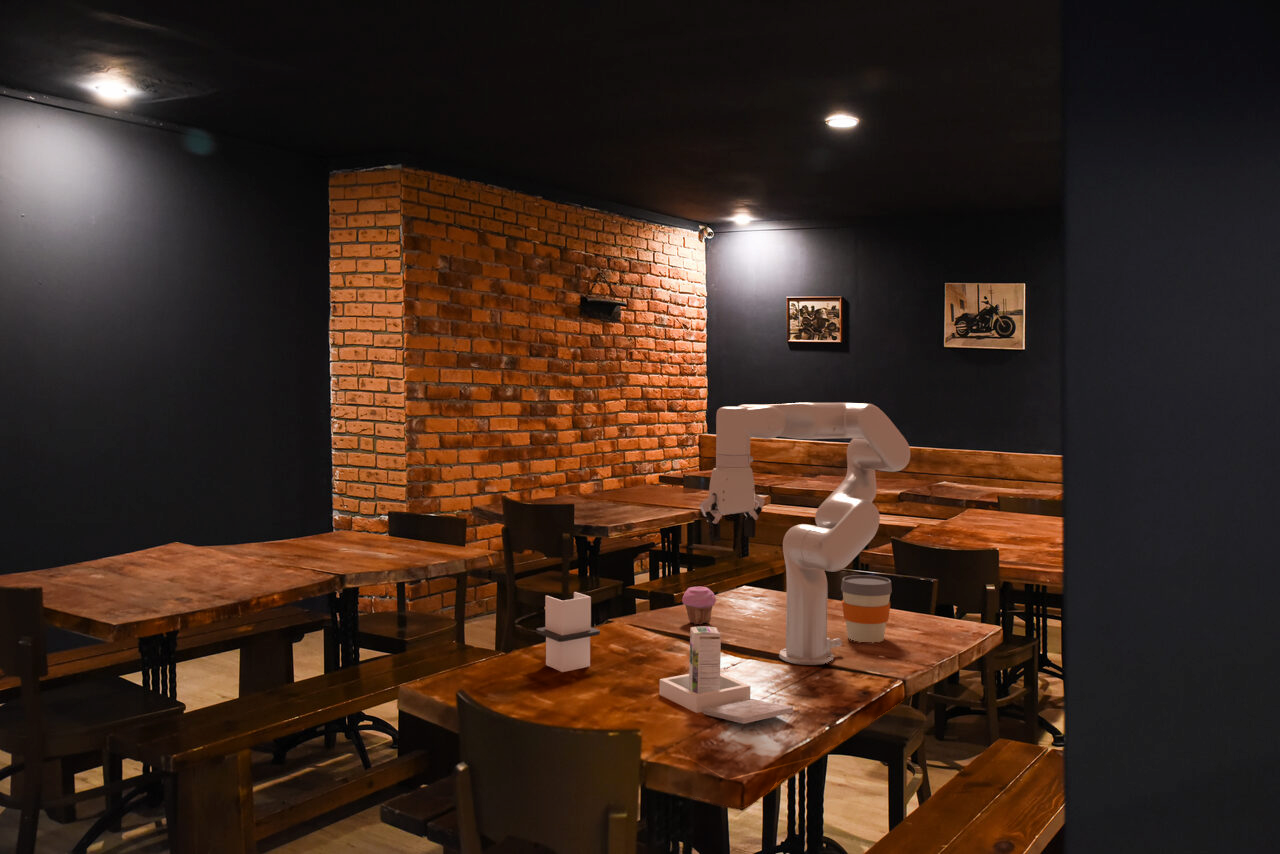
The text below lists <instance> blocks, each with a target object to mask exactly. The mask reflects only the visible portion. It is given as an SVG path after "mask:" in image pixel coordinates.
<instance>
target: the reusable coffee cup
mask: <svg viewBox="0 0 1280 854" xmlns="http://www.w3.org/2000/svg"><path fill="white" fill-rule="evenodd" d="M840 591H841V592H842V597H843V598H842V600H841V603H842V613H843V619H844V620H845V625H846V627H845V628H846V633H847V634H846V635H847V639H848V638H849V639H848V640H850V639H851V640H850V641H852V640H854V641H853V642H855V641H859V642H858V643H861V642H872V643H871V644H875V643H874V642H878V643H881V641H882V642H883V641H884V639H885V633H886V632H885V631H886V625H887V622H889V615H890V610H891V601H890V597H891V594H892V593H893V590H892V581H891V579H890V578H888V577H883V576H879V575H869V574H868V575H866V574H863V575H862V574H858V575H857V574H856V575H848V576H844V577H842V579H841V587H840Z"/></svg>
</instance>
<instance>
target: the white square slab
mask: <svg viewBox="0 0 1280 854" xmlns="http://www.w3.org/2000/svg"><path fill="white" fill-rule="evenodd" d="M702 713H703V715H707V716H709V717H715V718H719V719H723V720H725V721H731V722H735V723H739V724H743V725H744V724H749V723H754V722H756V721H762V720H765V719H766V720H767V719H770V718H774V717H780V716H784V715H788V714H791V713H794V707H793V706H790V705H783V704H779V703H773V702H769V701H764V700H760V699H755V698H750V699H747V700H742V701H738V702H733V703H728V704H723V705H719V706H714V707H709V708H704V709H703V712H702Z"/></svg>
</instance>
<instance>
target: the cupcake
mask: <svg viewBox="0 0 1280 854" xmlns="http://www.w3.org/2000/svg"><path fill="white" fill-rule="evenodd" d="M681 600H682V604H683V605H684V606H685V609H686V612H687V617H688V620H689V622H690V623H691V622H692V623H691V624H693V623H694V624H693V625H696V624H699V625H702V624H701V623H707V624H710V622H711V619H712V610H713V607H714V606H715V605H716V603H717V599H716V595H715V593H714V592H713V591H712V590H711V589H710V588H709V587H706V586H690V587H688V588H687V589H686V591H685V592H684V593H683V596H682V599H681Z"/></svg>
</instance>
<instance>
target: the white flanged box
mask: <svg viewBox="0 0 1280 854" xmlns="http://www.w3.org/2000/svg"><path fill="white" fill-rule="evenodd" d="M544 601H545V605H544V606H545V612H544V613H545V614H544V615H545V616H544V617H545V619H544V620H545V625H544V626H543V627H538V628H536V634H539V635H541V636H543V637H545V665H546V666H547V667H550V668H553V669H555V670H556V671H558V672H561V673H564V672H569V671H575V670H579V669H584V668H585V669H586V668H590V667H591V637H595V636H599V635H601V631H600V629H597V628H594V627H592V603H591V602H592V597H591V596H589V595H586V594H583V593H580V592H577V591H574V592H573V598H571V599H565V600H561V599H560V598H559V599H558V598H555V597H552V596H549V595H545V600H544Z"/></svg>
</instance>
